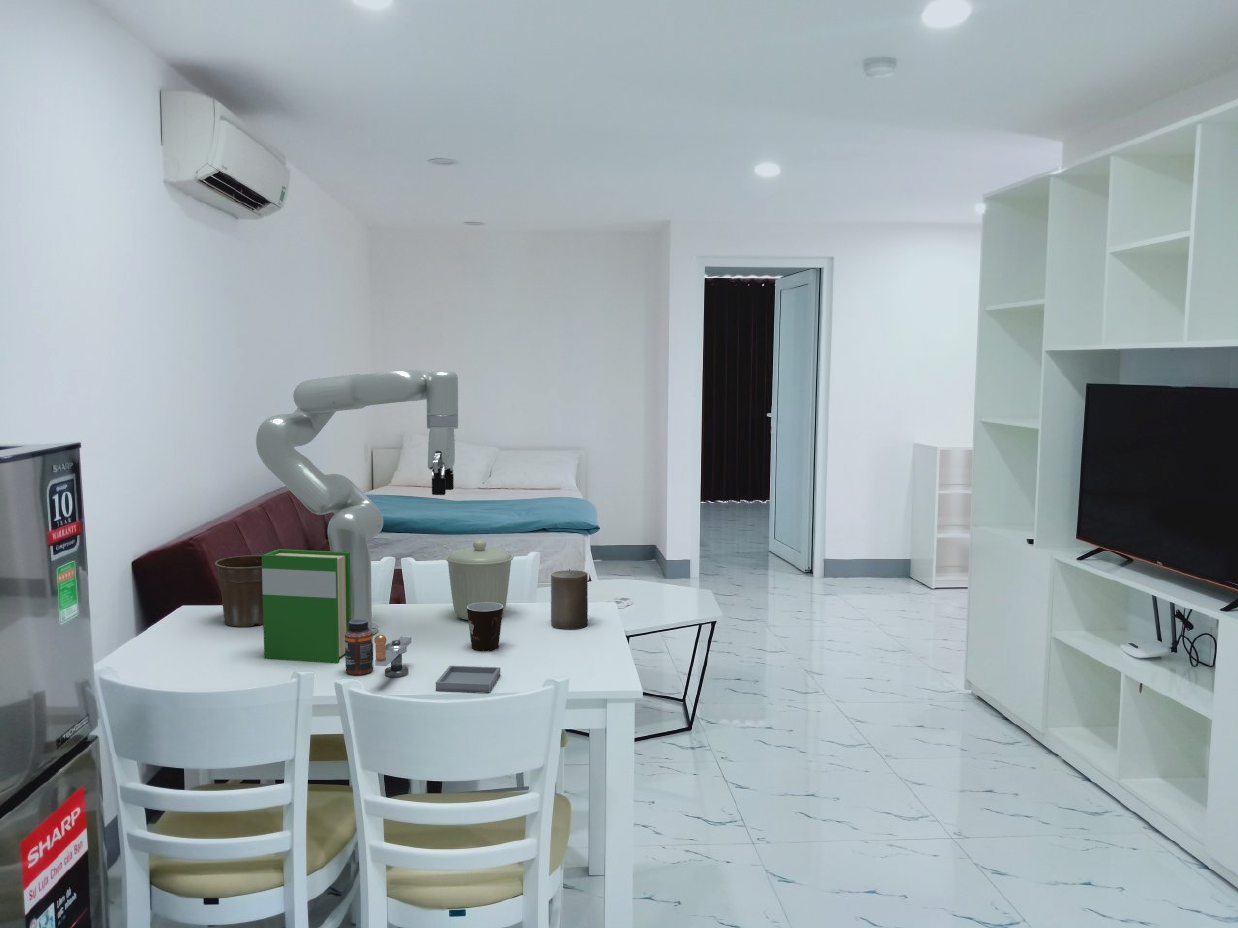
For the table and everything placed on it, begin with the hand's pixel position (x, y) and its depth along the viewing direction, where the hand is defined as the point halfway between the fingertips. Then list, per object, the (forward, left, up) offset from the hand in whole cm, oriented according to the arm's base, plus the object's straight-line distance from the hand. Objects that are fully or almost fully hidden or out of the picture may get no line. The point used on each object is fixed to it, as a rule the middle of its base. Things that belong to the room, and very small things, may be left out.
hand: (442, 492), depth 227 cm
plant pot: (-54, +8, -36) cm, 66 cm away
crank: (-3, -31, -31) cm, 44 cm away
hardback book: (-27, -19, -36) cm, 49 cm away
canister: (+4, +20, -36) cm, 42 cm away
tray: (+14, -33, -36) cm, 51 cm away
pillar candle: (+29, +15, -36) cm, 49 cm away
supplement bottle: (-11, -28, -36) cm, 47 cm away
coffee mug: (+12, -9, -36) cm, 39 cm away
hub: (-3, -29, -36) cm, 46 cm away
